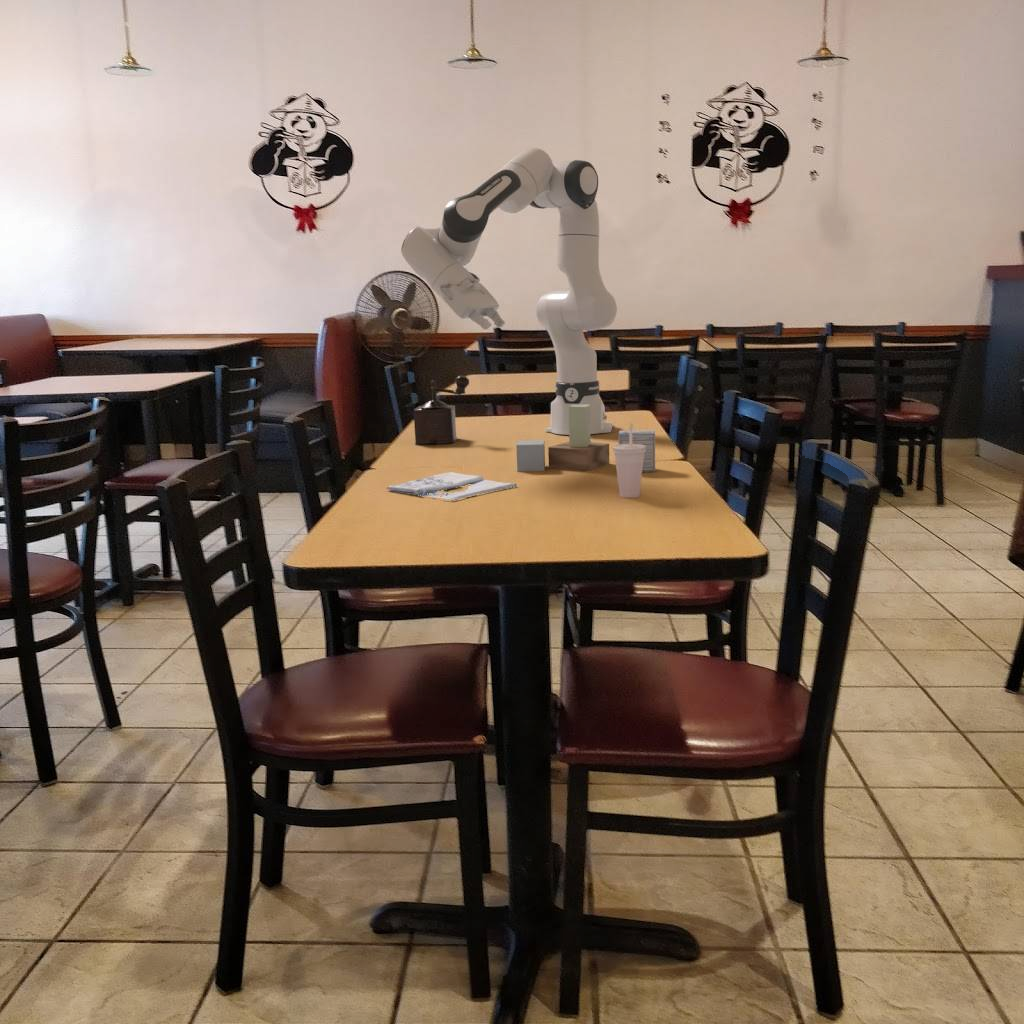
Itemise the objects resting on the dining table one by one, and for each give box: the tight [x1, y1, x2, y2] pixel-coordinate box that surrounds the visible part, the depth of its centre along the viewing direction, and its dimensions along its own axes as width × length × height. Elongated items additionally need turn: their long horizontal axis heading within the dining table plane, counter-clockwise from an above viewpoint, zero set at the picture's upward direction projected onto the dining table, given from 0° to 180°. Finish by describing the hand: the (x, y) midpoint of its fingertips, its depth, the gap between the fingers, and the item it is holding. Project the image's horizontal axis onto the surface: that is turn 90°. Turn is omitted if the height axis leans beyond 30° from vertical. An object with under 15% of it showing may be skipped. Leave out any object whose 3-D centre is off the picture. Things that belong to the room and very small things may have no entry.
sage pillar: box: [568, 405, 592, 447], centre depth 215 cm, size 4×4×9 cm
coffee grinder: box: [413, 375, 470, 446], centre depth 258 cm, size 16×11×18 cm
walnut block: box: [547, 441, 610, 472], centre depth 217 cm, size 10×10×5 cm
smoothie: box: [612, 423, 646, 499], centre depth 182 cm, size 6×6×14 cm
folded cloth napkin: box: [386, 471, 517, 501], centre depth 196 cm, size 19×20×2 cm
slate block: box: [516, 439, 546, 472], centre depth 215 cm, size 6×6×6 cm
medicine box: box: [618, 429, 656, 473], centre depth 208 cm, size 8×4×9 cm, turn 84°
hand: (495, 326), depth 223 cm, fingers open, 8 cm apart
